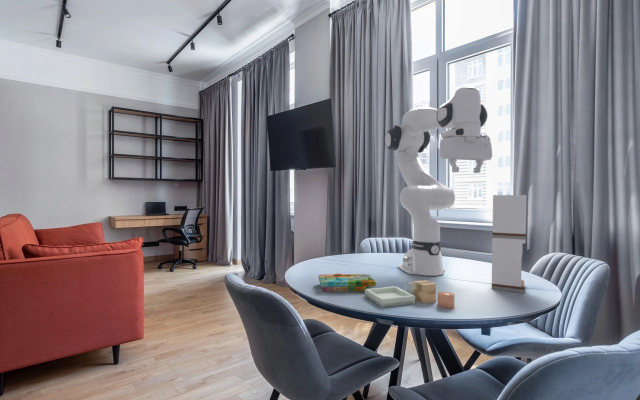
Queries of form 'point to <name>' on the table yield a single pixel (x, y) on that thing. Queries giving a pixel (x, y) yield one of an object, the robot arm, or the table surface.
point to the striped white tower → (508, 242)
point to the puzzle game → (345, 282)
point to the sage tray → (389, 296)
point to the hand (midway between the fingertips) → (466, 172)
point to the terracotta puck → (446, 300)
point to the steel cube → (410, 287)
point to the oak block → (425, 291)
